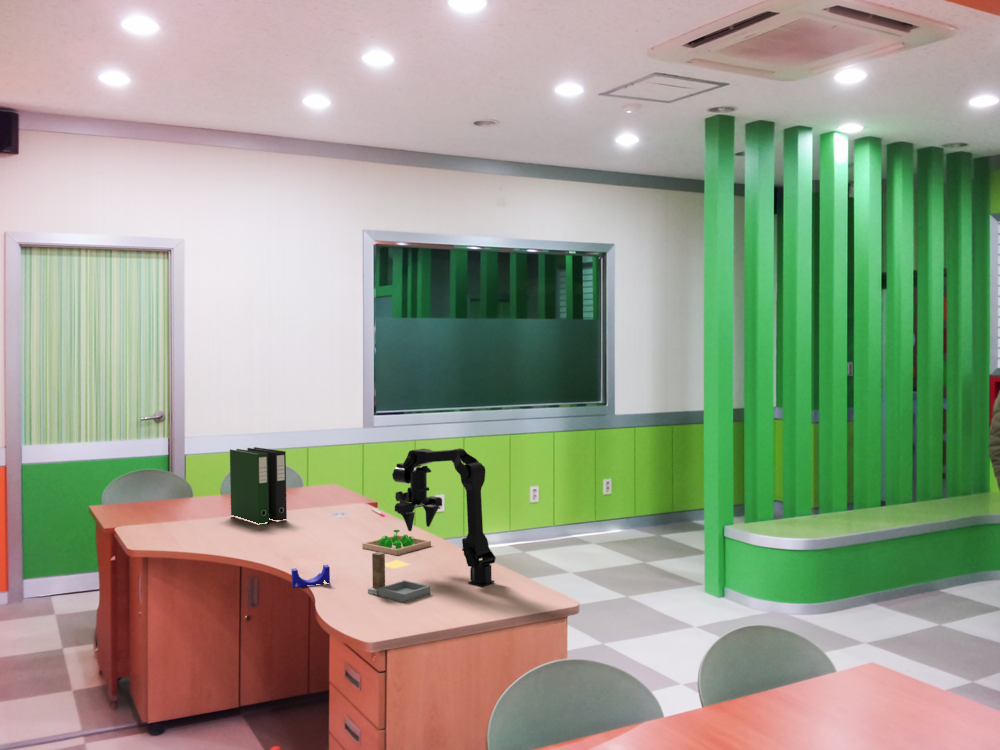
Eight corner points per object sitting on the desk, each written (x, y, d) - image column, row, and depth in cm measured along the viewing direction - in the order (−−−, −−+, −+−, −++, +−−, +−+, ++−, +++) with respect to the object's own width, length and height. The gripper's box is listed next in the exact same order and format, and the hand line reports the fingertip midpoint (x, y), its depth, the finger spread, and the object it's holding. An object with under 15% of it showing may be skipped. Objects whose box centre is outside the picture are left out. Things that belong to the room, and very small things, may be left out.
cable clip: (327, 581, 287) (326, 563, 287) (329, 584, 283) (329, 566, 283) (291, 585, 283) (290, 567, 283) (293, 589, 279) (293, 570, 278)
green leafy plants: (423, 546, 338) (423, 528, 338) (400, 554, 325) (400, 536, 325) (393, 542, 346) (393, 525, 346) (369, 549, 333) (369, 532, 333)
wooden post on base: (381, 588, 277) (381, 550, 277) (390, 590, 275) (389, 552, 274) (367, 593, 272) (367, 554, 272) (376, 595, 270) (375, 556, 269)
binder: (229, 517, 399) (228, 449, 398) (258, 513, 410) (257, 446, 409) (258, 525, 380) (257, 454, 379) (288, 520, 390) (286, 451, 390)
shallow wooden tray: (430, 545, 337) (430, 540, 337) (396, 555, 322) (396, 550, 322) (397, 539, 349) (397, 534, 349) (362, 548, 334) (362, 543, 334)
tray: (430, 593, 271) (430, 586, 271) (404, 602, 262) (404, 594, 262) (404, 587, 278) (404, 580, 278) (378, 596, 269) (378, 588, 269)
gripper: (420, 479, 312) (420, 521, 312) (383, 486, 297) (383, 530, 297) (442, 482, 305) (443, 525, 305) (406, 489, 290) (406, 534, 290)
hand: (419, 528), depth 300 cm, fingers open, 9 cm apart
